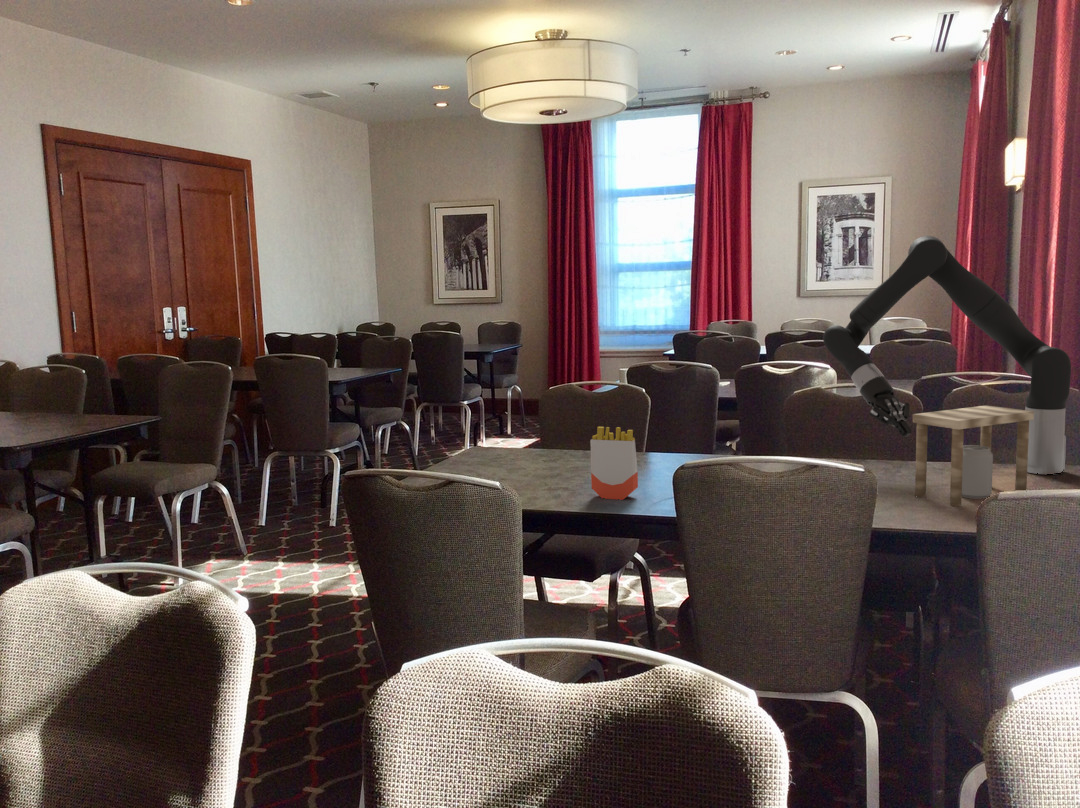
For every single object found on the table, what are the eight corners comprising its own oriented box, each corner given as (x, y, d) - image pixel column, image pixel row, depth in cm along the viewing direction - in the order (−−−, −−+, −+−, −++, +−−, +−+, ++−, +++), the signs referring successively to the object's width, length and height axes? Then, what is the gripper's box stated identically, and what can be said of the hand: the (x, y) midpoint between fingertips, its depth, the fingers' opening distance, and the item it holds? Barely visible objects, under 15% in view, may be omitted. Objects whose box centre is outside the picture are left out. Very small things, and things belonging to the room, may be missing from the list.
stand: (983, 483, 222) (985, 405, 220) (1030, 493, 211) (1034, 411, 208) (910, 496, 212) (912, 414, 210) (956, 507, 200) (959, 420, 198)
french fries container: (597, 493, 225) (595, 424, 223) (638, 496, 221) (637, 425, 219) (591, 497, 221) (590, 427, 219) (633, 500, 217) (632, 428, 214)
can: (997, 499, 207) (999, 448, 205) (965, 499, 207) (966, 449, 205) (982, 491, 214) (984, 443, 213) (951, 492, 214) (952, 444, 213)
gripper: (860, 377, 231) (897, 428, 222) (897, 373, 237) (934, 423, 227) (846, 395, 237) (880, 446, 227) (882, 391, 242) (918, 440, 233)
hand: (907, 435), depth 227 cm, fingers closed
